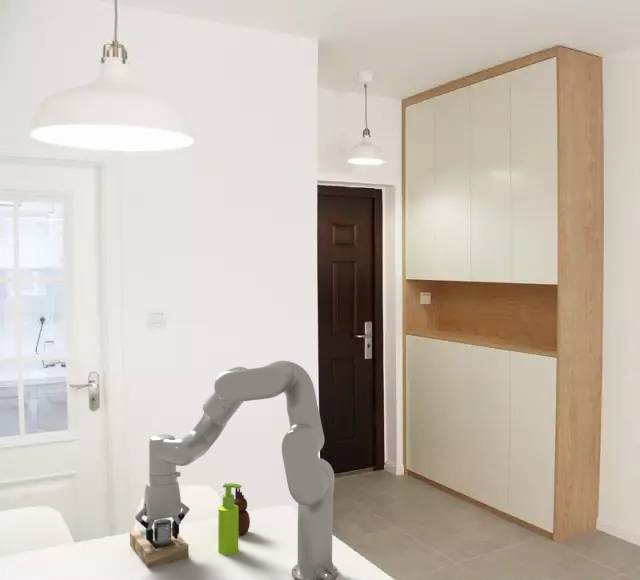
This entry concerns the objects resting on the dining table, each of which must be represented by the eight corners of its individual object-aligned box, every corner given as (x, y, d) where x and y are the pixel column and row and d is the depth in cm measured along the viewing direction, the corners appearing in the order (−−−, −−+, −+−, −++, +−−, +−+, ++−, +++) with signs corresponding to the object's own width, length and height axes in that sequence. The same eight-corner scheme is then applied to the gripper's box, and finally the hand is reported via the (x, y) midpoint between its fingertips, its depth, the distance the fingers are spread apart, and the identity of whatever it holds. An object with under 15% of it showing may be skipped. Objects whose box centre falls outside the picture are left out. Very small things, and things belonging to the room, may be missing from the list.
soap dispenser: (238, 556, 201) (238, 488, 200) (215, 554, 202) (215, 486, 202) (244, 548, 207) (244, 482, 206) (222, 546, 208) (222, 480, 207)
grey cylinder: (173, 557, 199) (173, 523, 199) (157, 561, 197) (157, 526, 197) (168, 551, 203) (168, 518, 203) (152, 555, 201) (152, 520, 201)
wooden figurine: (227, 531, 220) (227, 484, 219) (245, 528, 222) (245, 482, 222) (234, 539, 214) (234, 491, 213) (252, 536, 216) (252, 488, 216)
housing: (188, 558, 199) (188, 544, 199) (147, 567, 193) (147, 553, 193) (168, 537, 214) (168, 524, 214) (130, 545, 208) (129, 531, 208)
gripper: (187, 470, 207) (187, 529, 208) (129, 479, 198) (129, 540, 199) (195, 477, 201) (195, 538, 201) (136, 486, 192) (136, 550, 192)
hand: (162, 538), depth 200 cm, fingers open, 6 cm apart
